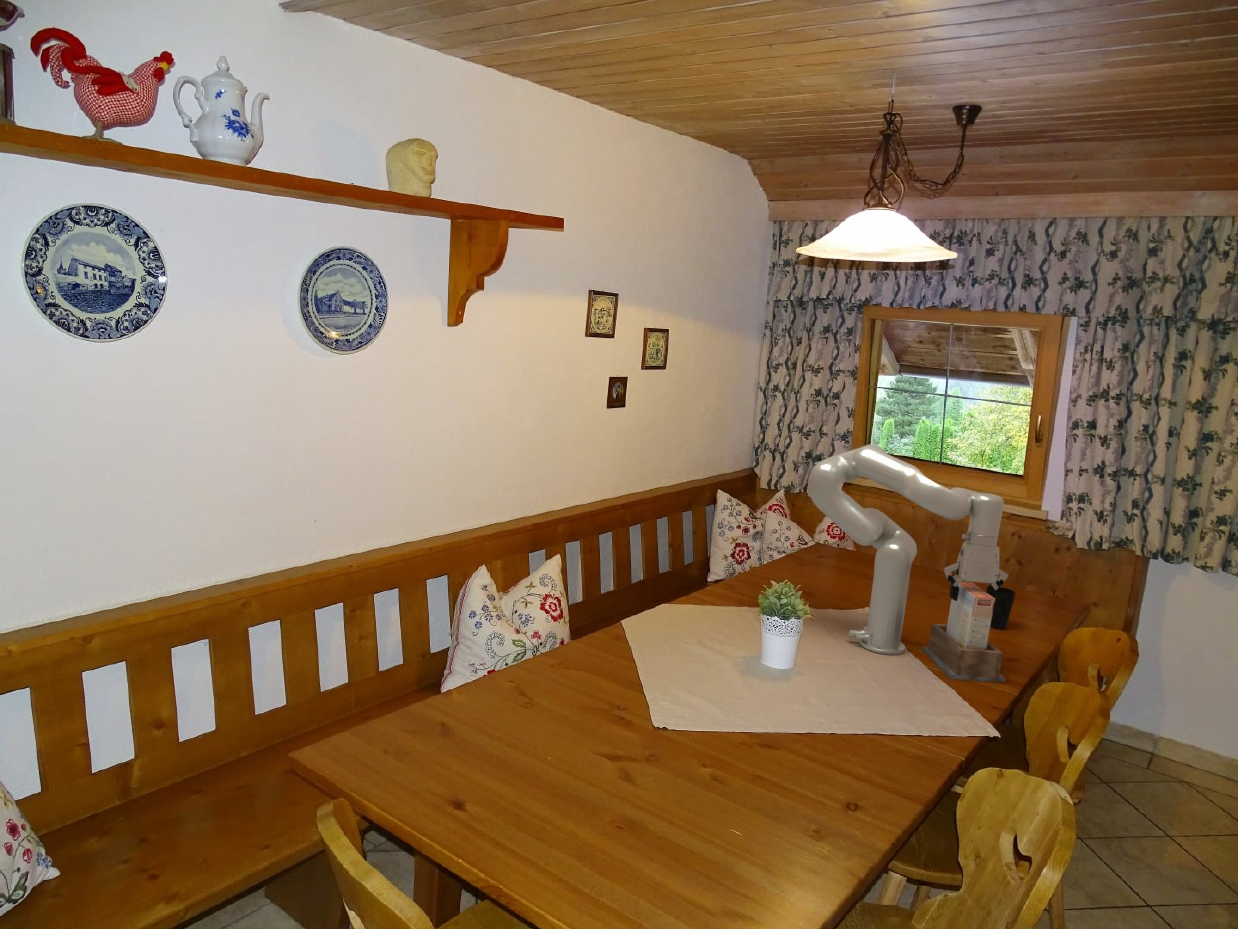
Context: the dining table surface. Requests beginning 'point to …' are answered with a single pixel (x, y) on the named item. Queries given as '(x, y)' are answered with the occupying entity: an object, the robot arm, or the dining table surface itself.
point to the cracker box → (970, 617)
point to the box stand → (963, 658)
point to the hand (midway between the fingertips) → (971, 600)
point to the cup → (1002, 608)
